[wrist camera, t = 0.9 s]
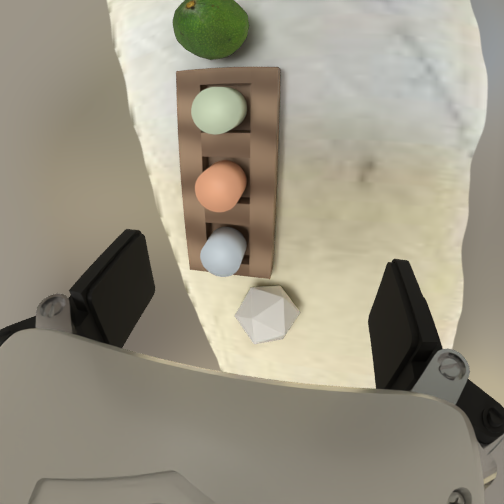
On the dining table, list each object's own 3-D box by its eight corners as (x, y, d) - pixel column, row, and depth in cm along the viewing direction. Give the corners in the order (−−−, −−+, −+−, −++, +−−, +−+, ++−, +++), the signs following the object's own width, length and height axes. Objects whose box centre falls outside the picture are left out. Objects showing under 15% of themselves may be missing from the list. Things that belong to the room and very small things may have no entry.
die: (259, 321, 52) (290, 358, 44) (218, 312, 47) (246, 354, 39) (284, 280, 51) (320, 314, 43) (243, 267, 45) (278, 304, 37)
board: (185, 72, 32) (176, 71, 30) (280, 69, 31) (277, 67, 28) (196, 258, 47) (190, 269, 44) (272, 267, 45) (270, 278, 43)
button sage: (203, 87, 31) (190, 88, 27) (247, 86, 30) (239, 86, 26) (204, 129, 33) (192, 134, 30) (247, 129, 32) (239, 134, 29)
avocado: (266, 17, 27) (246, -13, 17) (240, 70, 31) (209, 62, 21) (208, 0, 27) (167, -28, 17) (184, 51, 31) (135, 41, 21)
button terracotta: (205, 159, 35) (193, 168, 32) (246, 160, 34) (239, 169, 31) (206, 198, 38) (196, 210, 35) (246, 201, 37) (239, 213, 34)
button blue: (208, 225, 40) (198, 239, 36) (246, 228, 39) (240, 243, 36) (210, 258, 43) (201, 274, 39) (246, 262, 42) (240, 278, 38)
